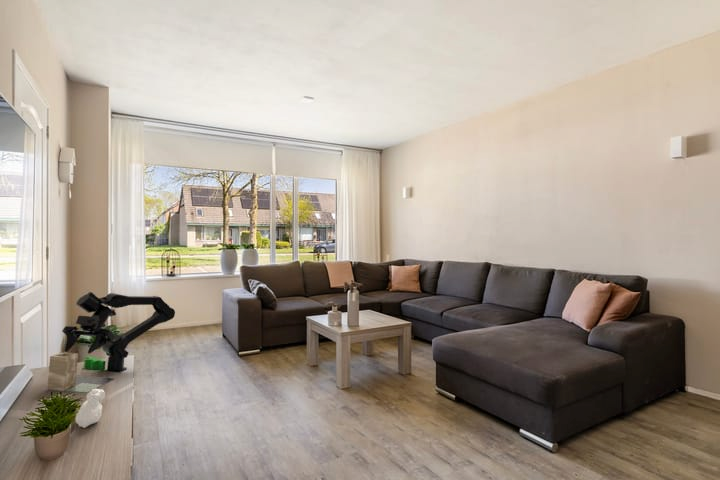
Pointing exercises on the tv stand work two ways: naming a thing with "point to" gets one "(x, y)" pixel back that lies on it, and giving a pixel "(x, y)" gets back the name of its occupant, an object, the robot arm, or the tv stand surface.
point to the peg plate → (85, 384)
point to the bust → (90, 408)
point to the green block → (94, 364)
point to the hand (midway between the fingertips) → (77, 352)
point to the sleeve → (62, 371)
